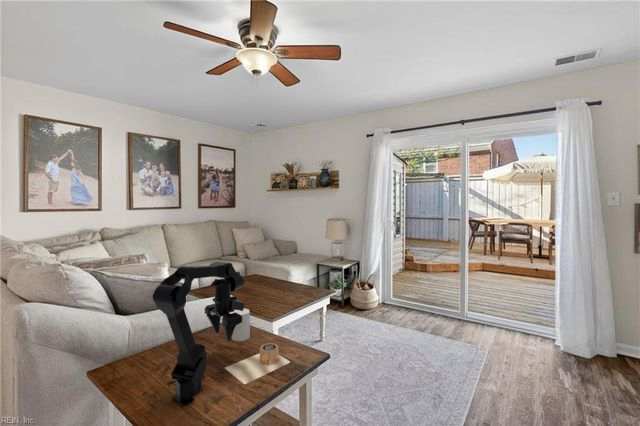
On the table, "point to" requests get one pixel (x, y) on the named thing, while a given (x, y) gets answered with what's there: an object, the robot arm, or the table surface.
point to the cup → (242, 326)
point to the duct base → (254, 367)
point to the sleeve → (269, 354)
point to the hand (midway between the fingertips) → (223, 336)
